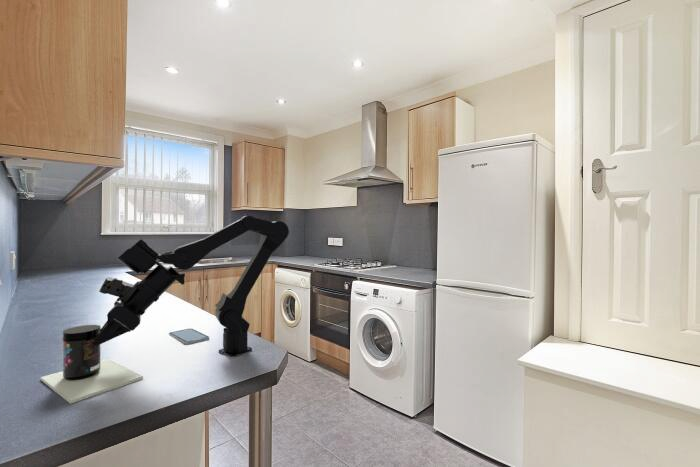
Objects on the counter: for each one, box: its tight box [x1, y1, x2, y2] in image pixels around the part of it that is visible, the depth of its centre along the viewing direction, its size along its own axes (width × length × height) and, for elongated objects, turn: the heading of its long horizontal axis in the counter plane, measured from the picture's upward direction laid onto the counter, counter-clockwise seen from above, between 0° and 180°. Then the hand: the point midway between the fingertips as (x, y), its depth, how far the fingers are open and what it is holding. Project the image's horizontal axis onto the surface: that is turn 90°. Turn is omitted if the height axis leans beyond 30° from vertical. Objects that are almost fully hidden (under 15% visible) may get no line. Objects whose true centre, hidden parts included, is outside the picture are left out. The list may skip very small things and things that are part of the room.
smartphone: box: [168, 328, 210, 345], centre depth 104 cm, size 7×1×15 cm
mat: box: [40, 358, 144, 405], centre depth 74 cm, size 18×13×1 cm
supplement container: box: [61, 324, 102, 380], centre depth 75 cm, size 7×7×10 cm
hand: (97, 338), depth 76 cm, fingers open, 9 cm apart
